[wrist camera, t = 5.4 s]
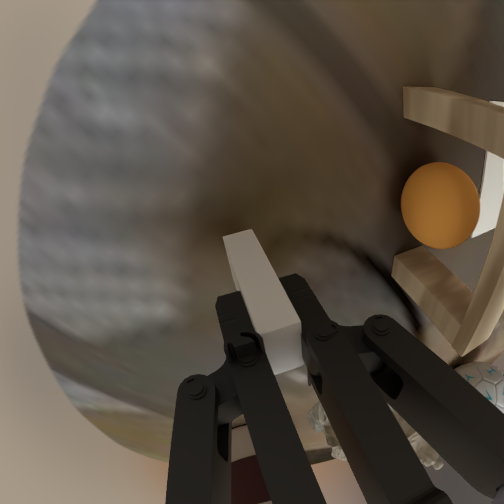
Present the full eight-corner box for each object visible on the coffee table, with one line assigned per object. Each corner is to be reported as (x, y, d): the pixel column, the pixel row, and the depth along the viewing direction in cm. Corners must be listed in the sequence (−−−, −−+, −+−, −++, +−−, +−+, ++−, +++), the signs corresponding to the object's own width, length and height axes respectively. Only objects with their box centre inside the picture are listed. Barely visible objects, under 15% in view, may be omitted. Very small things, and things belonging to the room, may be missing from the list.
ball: (490, 165, 15) (482, 194, 12) (475, 235, 18) (460, 278, 15) (418, 145, 18) (390, 167, 16) (412, 212, 22) (384, 247, 19)
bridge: (435, 87, 15) (556, 128, 8) (418, 264, 23) (488, 338, 16) (402, 86, 15) (535, 128, 7) (391, 275, 23) (461, 357, 16)
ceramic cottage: (314, 395, 31) (371, 511, 19) (424, 349, 34) (482, 436, 23) (296, 439, 40) (332, 521, 28) (385, 403, 44) (425, 472, 32)
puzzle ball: (408, 396, 41) (450, 465, 29) (477, 333, 38) (528, 398, 26) (427, 404, 50) (460, 458, 38) (482, 355, 46) (521, 406, 34)
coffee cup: (188, 443, 31) (215, 557, 19) (249, 409, 29) (294, 540, 17) (244, 453, 36) (274, 545, 24) (300, 422, 34) (343, 523, 22)
